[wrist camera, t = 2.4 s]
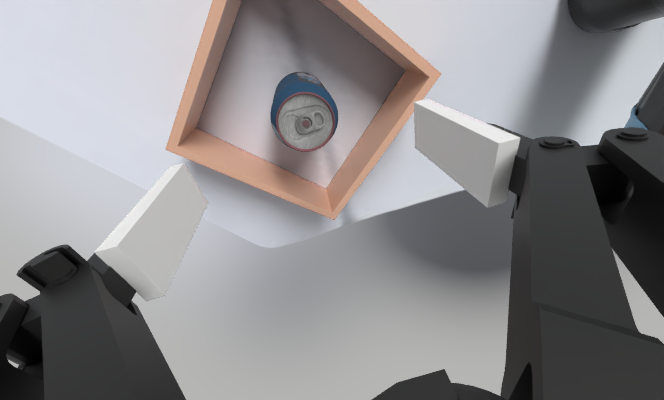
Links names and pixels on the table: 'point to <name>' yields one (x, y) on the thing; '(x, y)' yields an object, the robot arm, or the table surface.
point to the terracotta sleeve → (268, 175)
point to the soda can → (303, 112)
